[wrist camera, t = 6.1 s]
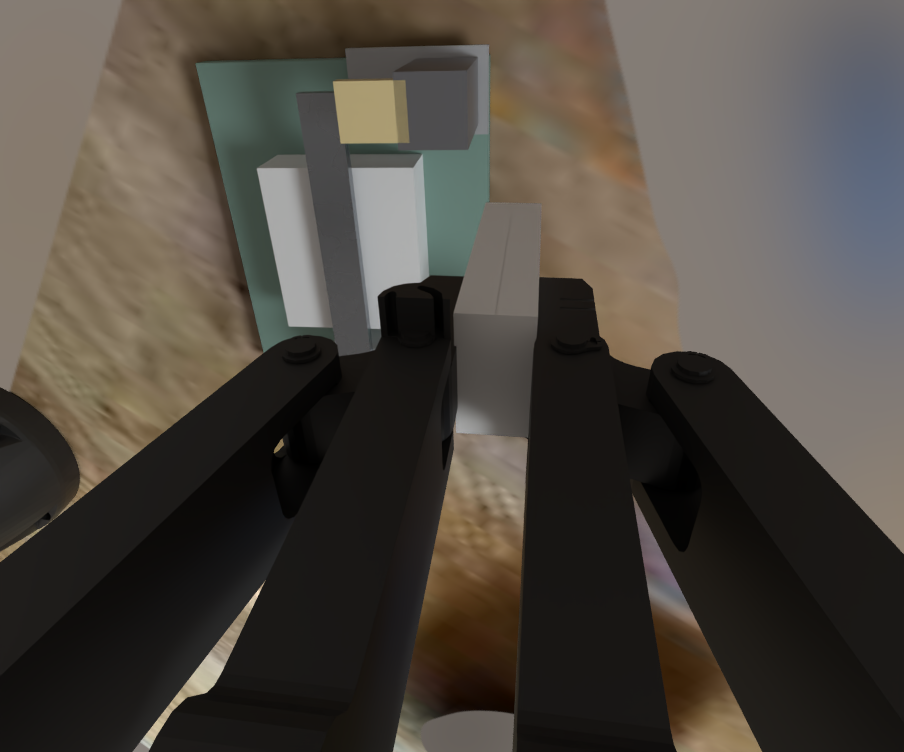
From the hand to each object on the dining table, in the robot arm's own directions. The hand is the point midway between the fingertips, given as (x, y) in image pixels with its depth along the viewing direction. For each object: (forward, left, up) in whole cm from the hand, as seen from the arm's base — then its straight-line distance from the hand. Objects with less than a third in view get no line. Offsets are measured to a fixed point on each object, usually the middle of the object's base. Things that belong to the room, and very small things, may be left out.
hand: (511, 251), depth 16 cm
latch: (-5, +2, -16) cm, 17 cm away
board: (-9, -5, -18) cm, 21 cm away
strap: (-9, -5, -13) cm, 17 cm away
